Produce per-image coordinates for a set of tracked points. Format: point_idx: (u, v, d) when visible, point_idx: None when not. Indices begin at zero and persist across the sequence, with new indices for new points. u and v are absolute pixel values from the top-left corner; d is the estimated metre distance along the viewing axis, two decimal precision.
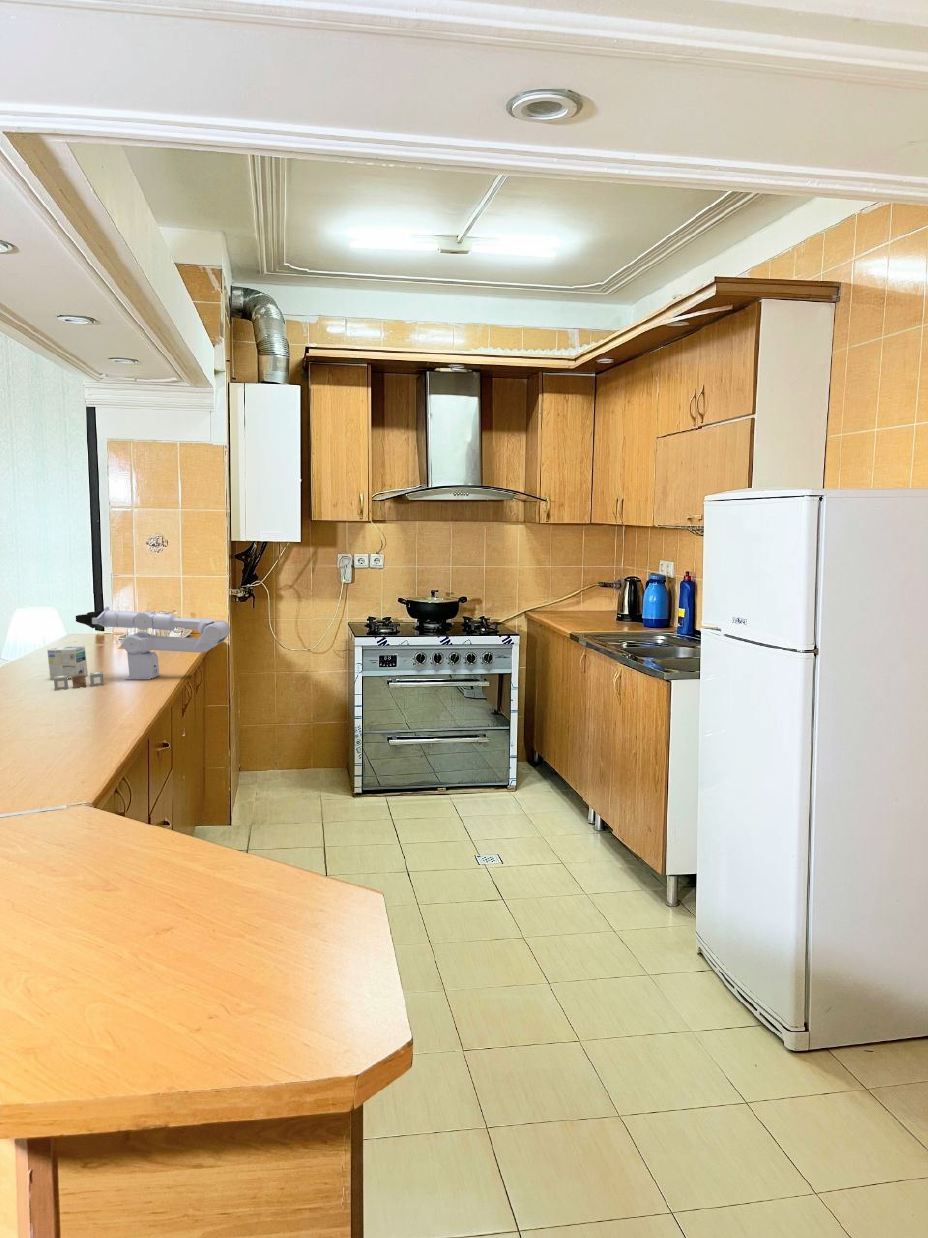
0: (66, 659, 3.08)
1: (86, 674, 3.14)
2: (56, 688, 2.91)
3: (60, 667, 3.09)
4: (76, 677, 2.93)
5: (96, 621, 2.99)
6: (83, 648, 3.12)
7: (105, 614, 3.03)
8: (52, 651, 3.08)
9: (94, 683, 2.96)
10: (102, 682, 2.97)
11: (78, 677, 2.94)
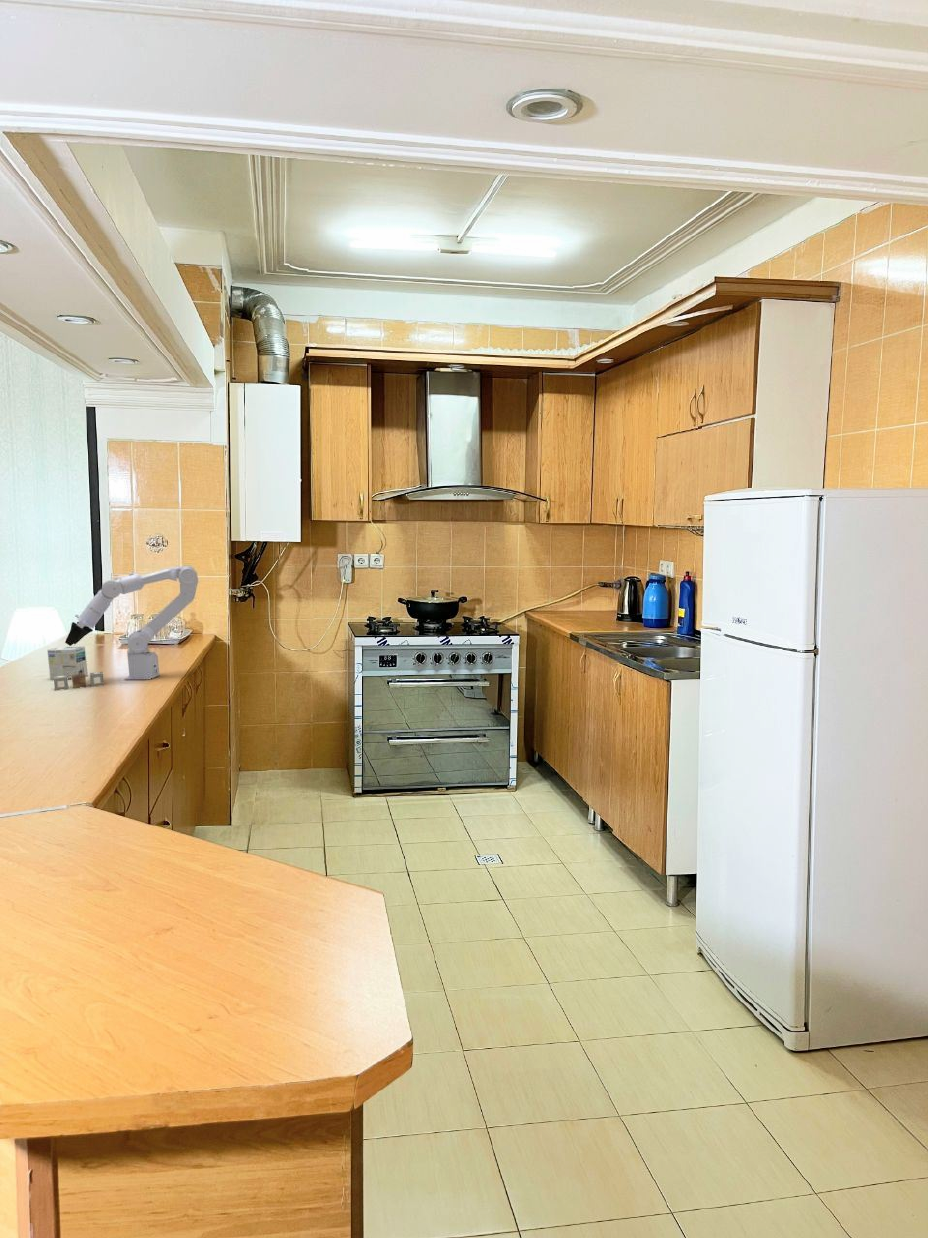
0: (66, 659, 3.08)
1: (86, 674, 3.14)
2: (56, 688, 2.91)
3: (60, 667, 3.09)
4: (76, 677, 2.93)
5: (82, 623, 2.93)
6: (83, 648, 3.12)
7: (81, 617, 2.97)
8: (52, 651, 3.08)
9: (94, 683, 2.96)
10: (102, 682, 2.97)
11: (78, 677, 2.94)
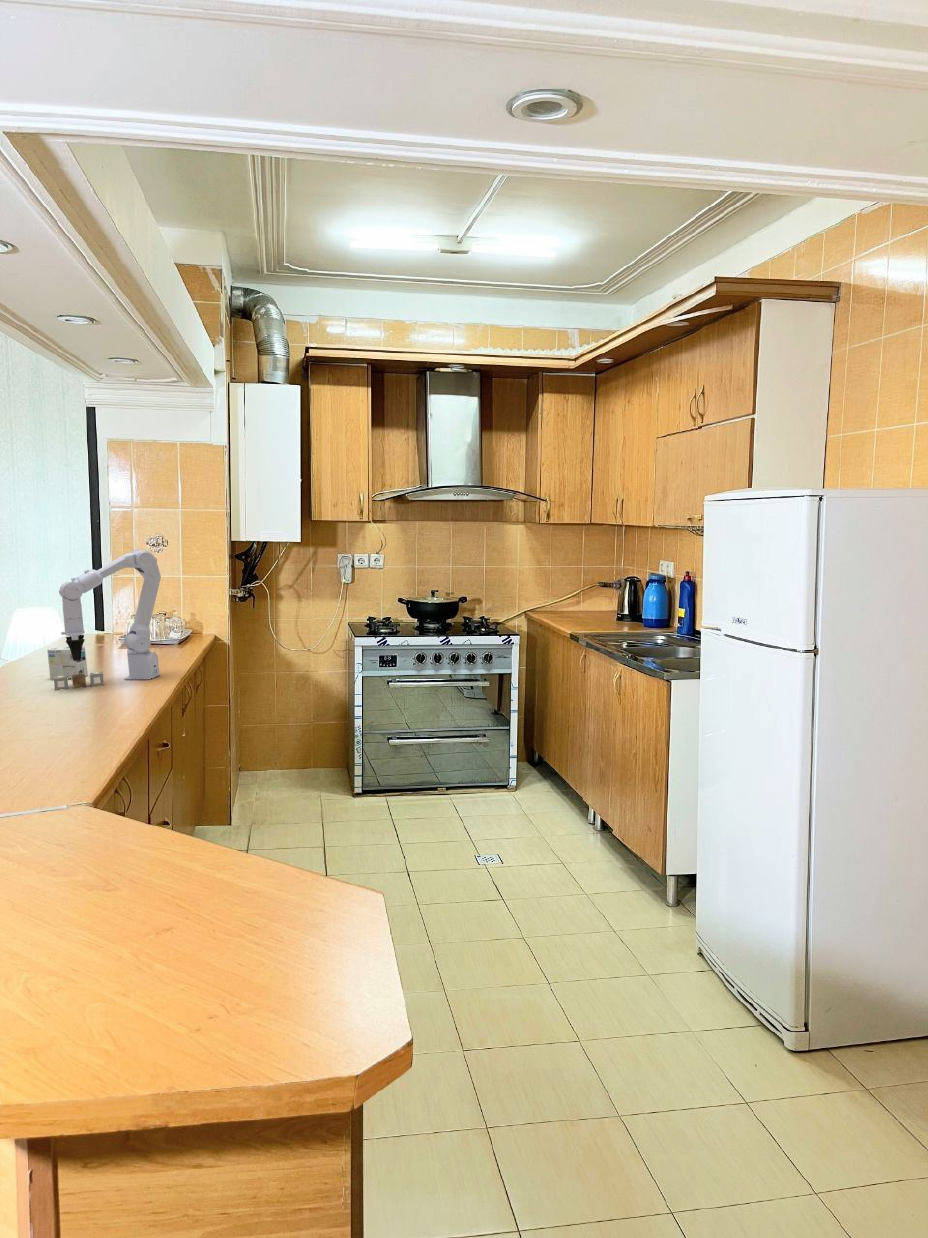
0: (66, 659, 3.08)
1: (86, 674, 3.14)
2: (56, 688, 2.91)
3: (60, 667, 3.09)
4: (76, 677, 2.93)
5: (74, 635, 2.87)
6: (83, 648, 3.12)
7: (68, 631, 2.91)
8: (52, 651, 3.08)
9: (94, 683, 2.96)
10: (102, 682, 2.97)
11: (78, 677, 2.94)
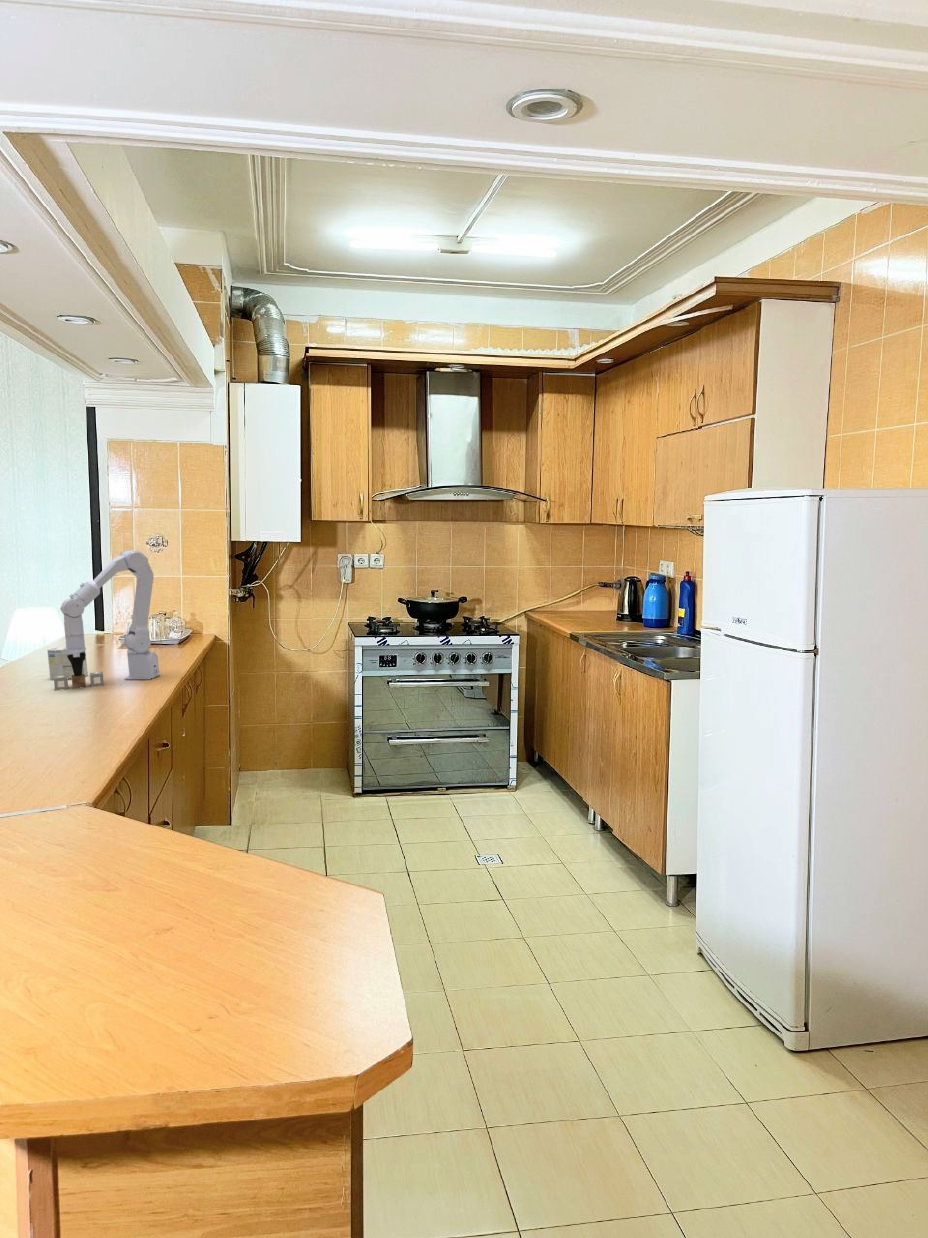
0: (66, 659, 3.08)
1: (86, 674, 3.14)
2: (56, 688, 2.91)
3: (60, 667, 3.09)
4: (76, 677, 2.93)
5: (76, 652, 2.88)
6: None
7: (70, 648, 2.91)
8: (52, 651, 3.08)
9: (94, 683, 2.96)
10: (102, 682, 2.97)
11: (78, 677, 2.93)
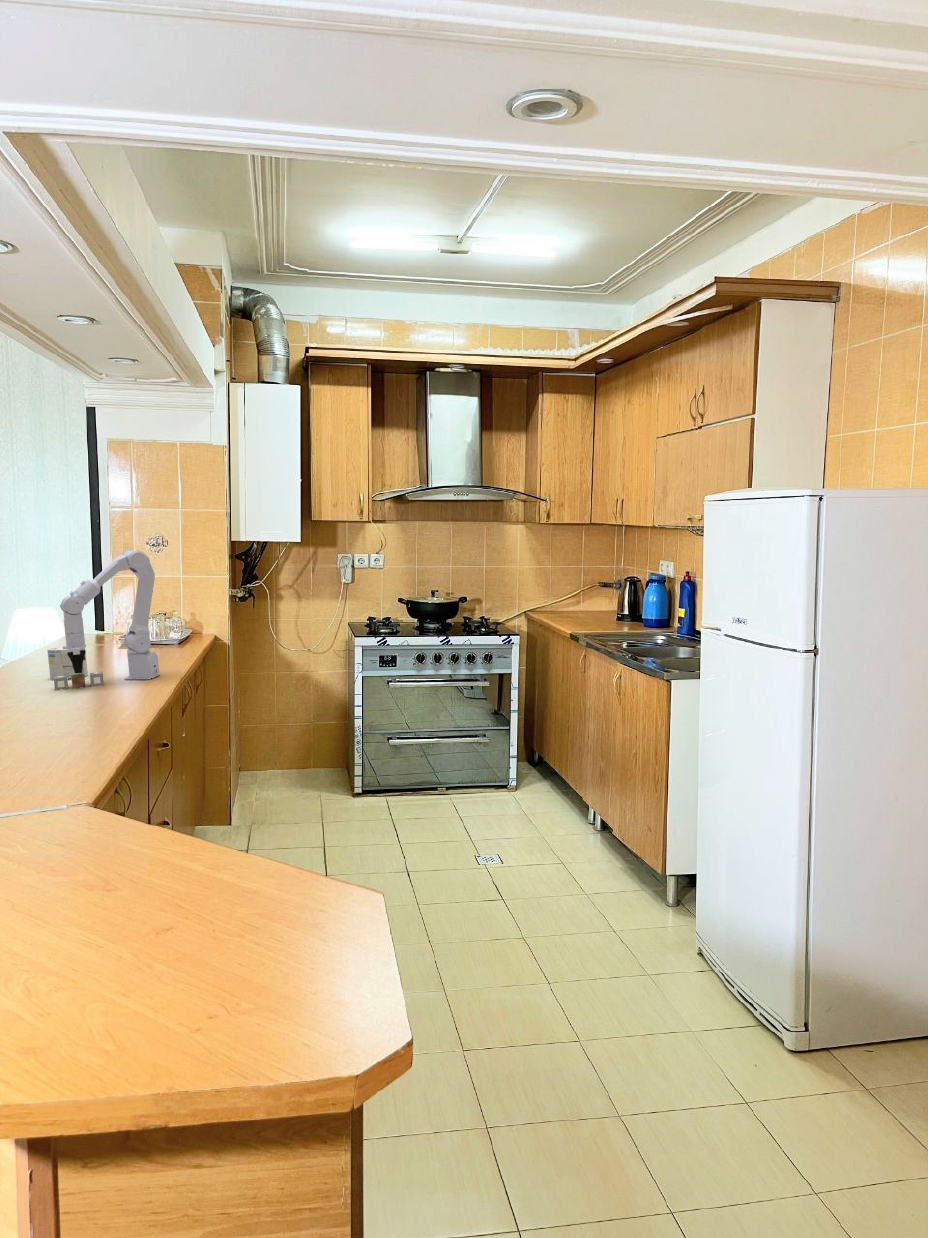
0: (66, 659, 3.08)
1: (86, 674, 3.14)
2: (56, 688, 2.91)
3: (60, 667, 3.09)
4: (75, 677, 2.93)
5: (76, 649, 2.87)
6: (83, 648, 3.12)
7: (70, 645, 2.91)
8: (52, 651, 3.08)
9: (94, 683, 2.96)
10: (102, 682, 2.97)
11: (77, 677, 2.93)
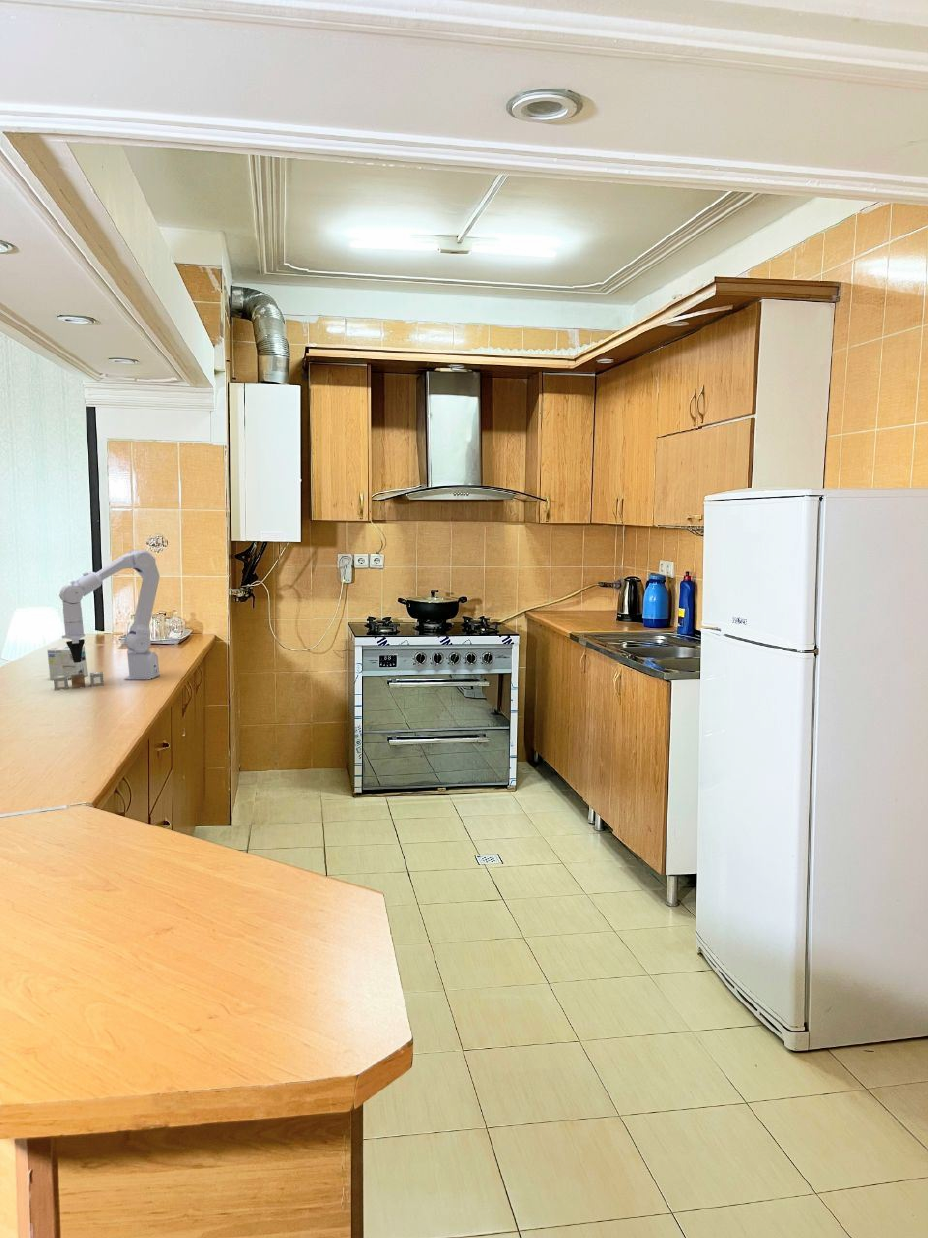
0: (66, 659, 3.08)
1: (86, 674, 3.14)
2: (56, 688, 2.91)
3: (60, 667, 3.09)
4: (75, 677, 2.93)
5: (75, 638, 2.87)
6: (83, 648, 3.12)
7: (69, 635, 2.91)
8: (52, 651, 3.08)
9: (94, 683, 2.96)
10: (102, 682, 2.97)
11: (77, 677, 2.93)
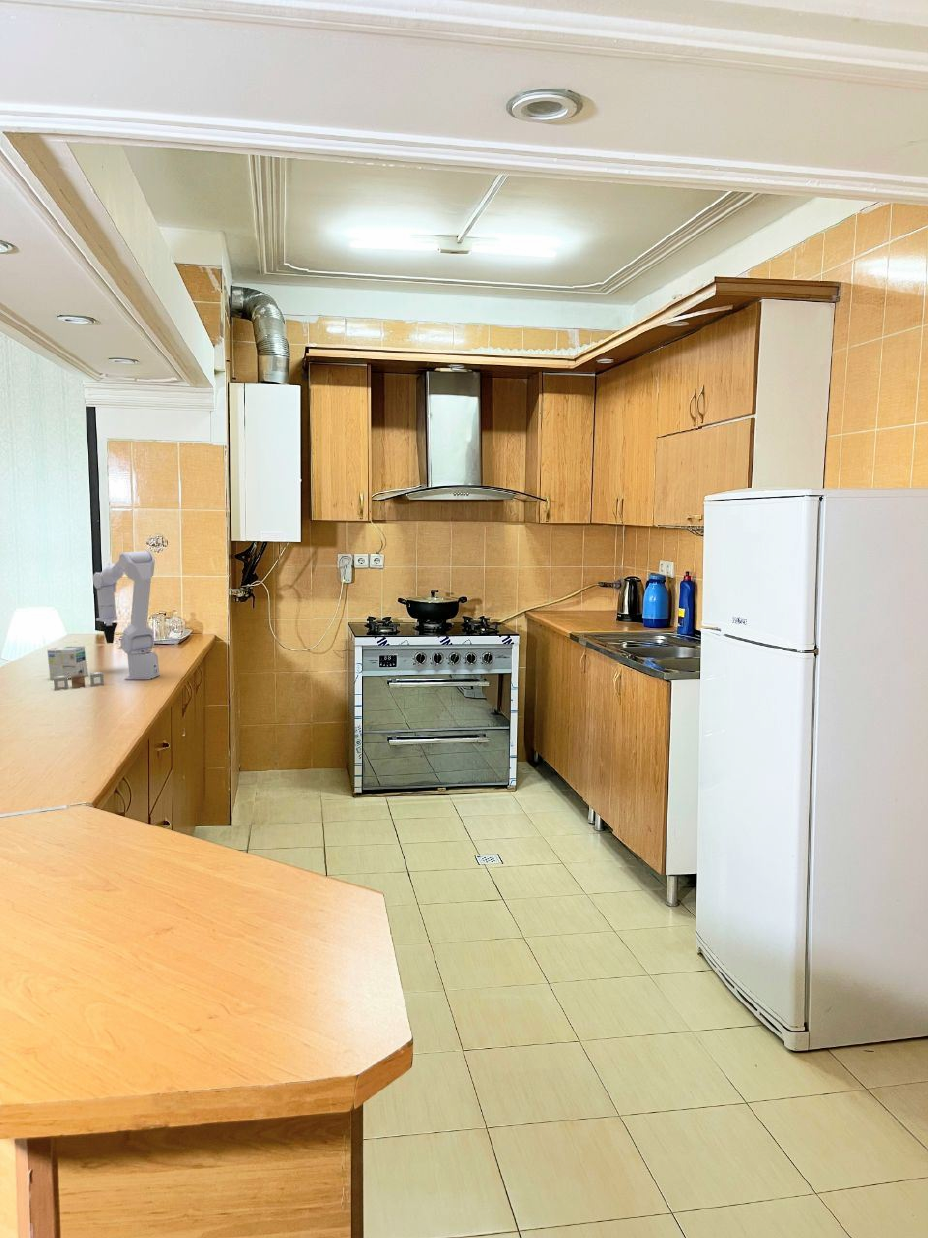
0: (66, 659, 3.08)
1: (86, 674, 3.14)
2: (56, 688, 2.91)
3: (60, 667, 3.09)
4: (75, 677, 2.93)
5: (109, 621, 3.12)
6: (83, 648, 3.12)
7: (103, 617, 3.16)
8: (52, 651, 3.08)
9: (94, 683, 2.96)
10: (102, 682, 2.97)
11: (77, 677, 2.93)
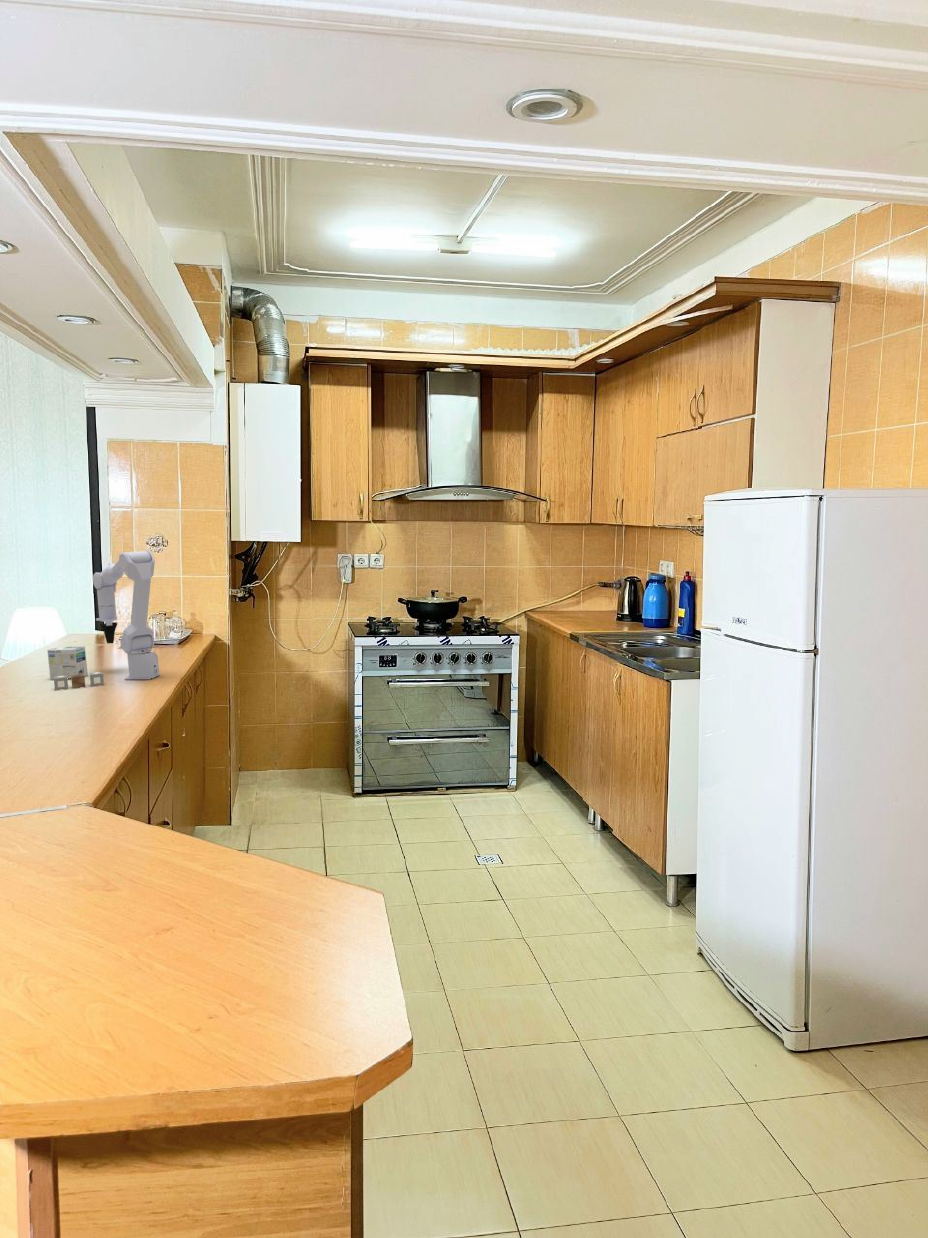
0: (66, 659, 3.08)
1: (86, 674, 3.14)
2: (56, 688, 2.91)
3: (60, 667, 3.09)
4: (75, 677, 2.93)
5: (109, 621, 3.12)
6: (83, 648, 3.12)
7: (103, 617, 3.16)
8: (52, 651, 3.08)
9: (94, 683, 2.96)
10: (102, 682, 2.97)
11: (77, 677, 2.93)
